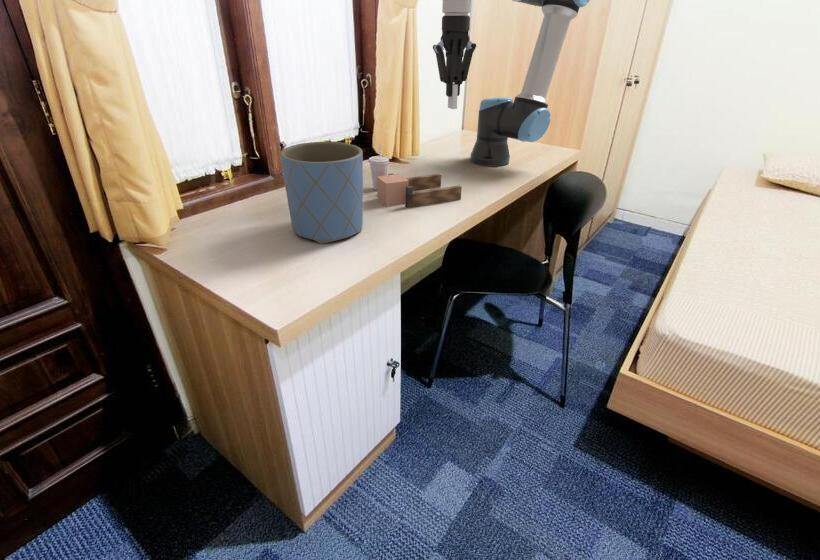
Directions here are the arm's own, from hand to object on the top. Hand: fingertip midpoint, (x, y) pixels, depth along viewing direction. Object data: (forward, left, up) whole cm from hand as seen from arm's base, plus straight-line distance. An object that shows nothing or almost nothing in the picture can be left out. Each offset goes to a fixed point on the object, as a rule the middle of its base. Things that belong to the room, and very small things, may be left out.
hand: (452, 108), depth 128 cm
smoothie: (+20, -8, -25) cm, 33 cm away
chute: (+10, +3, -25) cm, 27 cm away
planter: (+44, +15, -25) cm, 53 cm away
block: (+21, +3, -25) cm, 33 cm away
